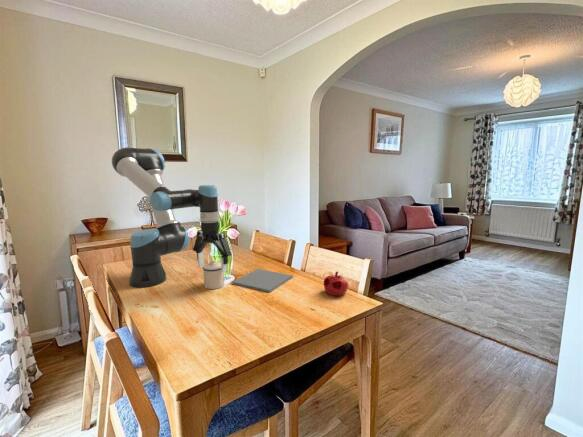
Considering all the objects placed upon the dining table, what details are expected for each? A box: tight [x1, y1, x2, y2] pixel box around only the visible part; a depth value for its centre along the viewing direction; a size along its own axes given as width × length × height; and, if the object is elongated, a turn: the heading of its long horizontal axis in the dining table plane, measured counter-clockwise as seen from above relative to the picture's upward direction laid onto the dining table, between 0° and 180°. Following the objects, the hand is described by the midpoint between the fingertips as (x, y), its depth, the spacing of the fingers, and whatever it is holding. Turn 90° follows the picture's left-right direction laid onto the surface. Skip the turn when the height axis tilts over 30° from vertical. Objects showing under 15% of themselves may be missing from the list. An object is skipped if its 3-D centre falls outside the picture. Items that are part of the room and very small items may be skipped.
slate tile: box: [232, 268, 294, 293], centre depth 136 cm, size 20×20×1 cm
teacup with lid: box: [202, 259, 225, 290], centre depth 130 cm, size 12×9×12 cm
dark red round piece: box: [323, 271, 349, 297], centre depth 121 cm, size 10×10×9 cm
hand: (212, 269), depth 129 cm, fingers open, 13 cm apart
